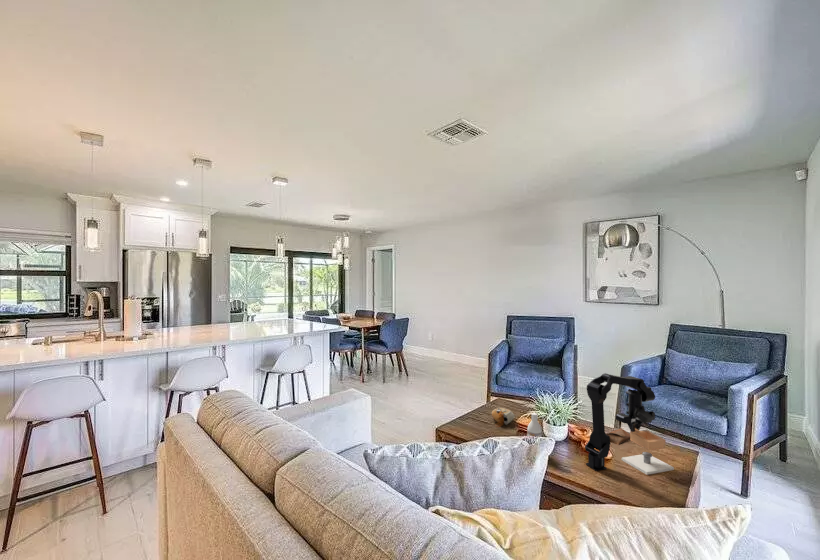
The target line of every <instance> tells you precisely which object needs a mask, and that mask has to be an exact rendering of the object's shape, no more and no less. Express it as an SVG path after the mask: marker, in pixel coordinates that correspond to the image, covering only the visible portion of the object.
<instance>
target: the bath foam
mask: <svg viewBox="0 0 820 560" xmlns="http://www.w3.org/2000/svg"><path fill="white" fill-rule="evenodd" d="M538 415H539V414H538V413H535V412H532V413H531V421H530V422H529V423H528V426H527V428H526V429H527V432H526V437H527V436H542V437H543V435H542V433H543V430H542V427H541V426H542V425H540V423H539V421H538V420H539V419H538Z"/></svg>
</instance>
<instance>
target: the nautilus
mask: <svg viewBox="0 0 820 560" xmlns="http://www.w3.org/2000/svg"><path fill="white" fill-rule="evenodd" d="M491 416H492V419H494V421H495V422H496V423H495V424H494V425H495V426H496V428H500V427H501V426H504V425H506V426H507V425H508V424H510V423H511V422H512V421H514V418H515V414H514V413H513V411H512V410H510V409H508V408H505V407H497V408H495V409H493V410H492V411H491Z"/></svg>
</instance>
